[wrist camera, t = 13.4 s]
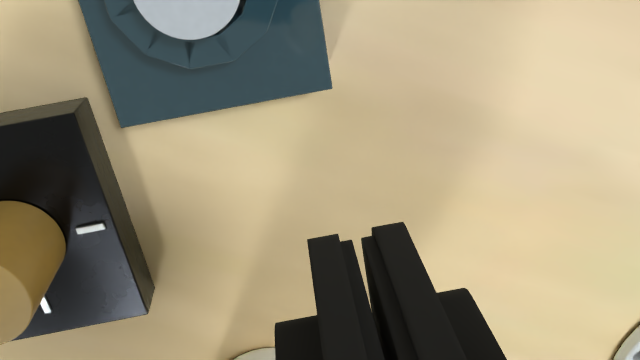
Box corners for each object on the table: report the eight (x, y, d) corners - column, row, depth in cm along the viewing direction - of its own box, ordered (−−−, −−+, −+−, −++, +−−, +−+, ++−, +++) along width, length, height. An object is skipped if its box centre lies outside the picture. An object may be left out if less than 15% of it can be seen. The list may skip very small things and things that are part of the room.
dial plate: (155, 287, 34) (148, 316, 31) (-13, 320, 33) (-33, 352, 31) (87, 96, 28) (72, 113, 26) (-113, 133, 28) (-147, 154, 26)
